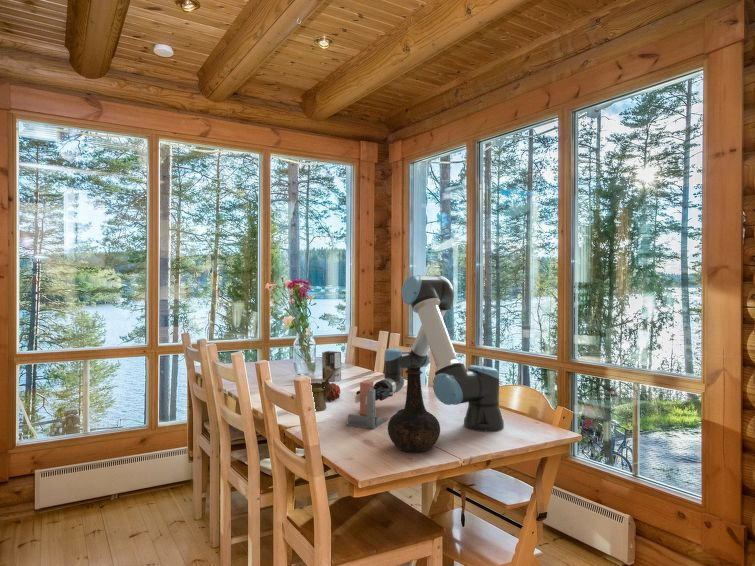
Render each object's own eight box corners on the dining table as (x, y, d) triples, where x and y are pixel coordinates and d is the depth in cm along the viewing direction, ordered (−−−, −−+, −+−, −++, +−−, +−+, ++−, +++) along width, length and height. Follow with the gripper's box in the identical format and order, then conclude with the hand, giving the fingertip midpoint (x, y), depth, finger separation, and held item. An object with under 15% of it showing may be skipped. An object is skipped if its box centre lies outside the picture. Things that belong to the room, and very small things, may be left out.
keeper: (360, 417, 215) (360, 381, 215) (387, 420, 211) (387, 383, 211) (344, 426, 202) (344, 388, 202) (372, 429, 197) (372, 390, 197)
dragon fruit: (331, 406, 240) (329, 404, 252) (345, 394, 242) (342, 392, 254) (320, 391, 241) (318, 390, 252) (334, 380, 242) (332, 379, 254)
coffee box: (341, 380, 294) (341, 351, 294) (334, 382, 289) (334, 353, 289) (328, 378, 299) (328, 350, 299) (321, 380, 294) (321, 352, 294)
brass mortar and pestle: (336, 411, 225) (336, 369, 225) (305, 412, 224) (304, 370, 224) (336, 406, 234) (335, 366, 234) (305, 407, 233) (305, 366, 233)
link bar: (364, 415, 209) (364, 380, 209) (373, 416, 208) (373, 381, 208) (360, 418, 206) (360, 382, 206) (369, 419, 204) (369, 383, 204)
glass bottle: (421, 437, 188) (421, 359, 188) (451, 451, 172) (451, 367, 172) (378, 444, 179) (377, 363, 179) (405, 460, 164) (404, 371, 163)
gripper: (403, 398, 220) (381, 412, 198) (366, 395, 227) (341, 407, 205) (403, 381, 220) (381, 392, 198) (366, 378, 227) (341, 388, 205)
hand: (361, 400), depth 202 cm, fingers closed on link bar, 4 cm apart
